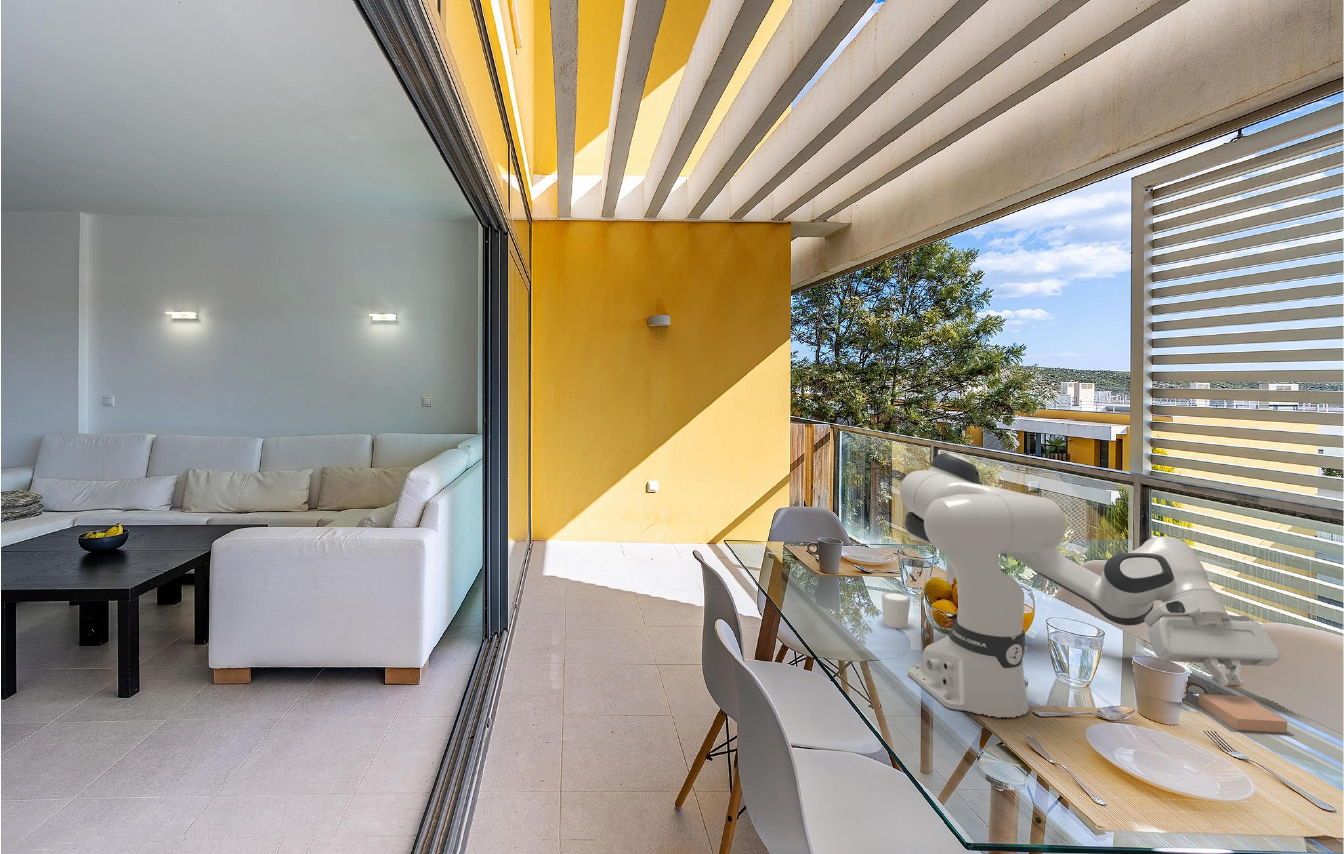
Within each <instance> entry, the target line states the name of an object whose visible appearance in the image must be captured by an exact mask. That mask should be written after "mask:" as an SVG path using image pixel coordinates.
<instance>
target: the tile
mask: <svg viewBox="0 0 1344 854" xmlns="http://www.w3.org/2000/svg"><path fill="white" fill-rule="evenodd" d="M1206 694H1207V693H1202V694H1199V701H1198V705H1200V706H1201V707H1202V708H1204V709H1205V710H1207V711H1208V712H1210V713H1211V714H1213V715H1214V716H1216V717H1217V718H1219V719H1220V720H1222V721H1223V722H1225V723H1226V724H1228V725H1229V726H1231V727H1232V728H1234V729H1235V730H1242V731H1260V732H1277V733H1287V731H1288V730H1287V729H1288V721H1287V720H1285V719H1284V718H1282V717H1280V716H1279V715H1277V714H1275V713H1274V712H1272V711H1270V709H1268V708H1265V707H1264V706H1262V705H1261V704H1258V703H1257V702H1256V701H1253V699H1251V698H1249V697H1247V696H1241V695H1230V696H1226V695H1227V694H1222V695H1206Z"/></svg>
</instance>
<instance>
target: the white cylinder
mask: <svg viewBox="0 0 1344 854" xmlns="http://www.w3.org/2000/svg"><path fill="white" fill-rule="evenodd" d="M911 601H912V598H911V597H910V596H909V595H907V594H903V593H899V592H885V593H882V594H881V606H882V623H883V625H884V626H886V627H888V628H892V629H893V628H894V629H905V628H907V627H908V623H909V622H908V621H909V614H910V609H911V608H910V607H911Z"/></svg>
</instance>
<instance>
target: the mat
mask: <svg viewBox="0 0 1344 854" xmlns="http://www.w3.org/2000/svg"><path fill="white" fill-rule="evenodd" d="M1185 693H1186V696H1185V698H1184V699H1183V700H1184V701H1185V702H1186V703H1189V704H1190V705H1191V706H1193V707H1194V708H1195V709H1197V710H1199V711H1200V712H1201V713H1203V714H1205V715H1206V716H1207V717H1209V718H1210V719H1212V720H1213V721H1215V722H1216V723H1217V724H1219V725H1221V726H1222V727H1223V728H1225V729H1227V730H1228V731H1230V732H1231V733H1245V734H1246V733H1248V734H1262V735H1263V734H1264V735H1279V736H1280V735H1281V736H1294V734H1293V733H1292V732H1290V731H1288V730H1287V733H1277V732H1260V731H1242V730H1235V729H1234V728H1232V727H1231V726H1229V725H1228V724H1226V723H1225V722H1223V721H1222V720H1220V719H1219V718H1217V717H1216V716H1214V715H1213V714H1211V713H1210V712H1208V711H1207V710H1205V709H1204V708H1202V707H1201V706H1200V705H1198V701H1199V697H1198V696H1195V695H1193V694H1192V693H1193V692H1185ZM1205 694H1206V695H1223V694H1219V693H1205ZM1225 695H1226V696H1231V695H1230V694H1225Z"/></svg>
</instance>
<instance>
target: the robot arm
mask: <svg viewBox="0 0 1344 854" xmlns="http://www.w3.org/2000/svg"><path fill="white" fill-rule="evenodd" d="M929 465H930V466H929V468H928V469H922V470H921V469H919V470H914V471H911V472H909V473H908V474H907V475H906V476H905V477H904V478H903V479H902V481H901V483H900V485H899V496H900V498H901V501H902V502H903V504H904V505H905V506H906V507H907V508H908V509H909V510H908V512H907V513H906V514H905V519H904V520H905V521H904V527H905V530H906V531H907V532H908V533H909V534H910V536H912V538H914V539H915V540H917V541H919V542H920V543H923V544H926V545H932V546H933V547H934V548H936V550H938V551H939V552H940V553H941V554H943V556H944V557H945V558H946V560H947V559H948V561H949V562H950V564H951V566H952V568H953V570H954V573H955V576H956V581H957V594H958V611H957V614H956V618H955V619H949V620H945V622H946V623H947V624H945V627H950V626H951V628H950V630H949V633H948V635H946V636H944V637H942V638H940V639H938V640H936V641H934V642H932V643H930V644H928V645H926V647H925V648H923V652H922V655H921V661H920V663H918V664H915V665H912V666H911V667H909V668H908V670H907V675H908V676H909V677H910V678H912V679H913V680H914V682H916V683H917V684H919V686H921V687H922V689H924V690H926V691H927V692H928V693H929V694H930V695H931V696H932V697H933V698H935V699H936V700H937V701H938V702H939V703H941V704H942V705H943V706H944V707H945V708H947V709H951V710H956V711H966V712H969V713H974V714H977V715H981V714H984V715H983V716H985V715H987V716H986V717H991V716H993V717H992V718H1001V717H1003V718H1004V717H1007V719H1008V718H1009V717H1011V718H1017V717H1016V716H1018V717H1022V716H1024V715H1025V714H1027V713H1028V712H1029V710H1030V705H1029V700H1028V697H1027V688H1026V685H1025V684H1026V683H1025V674H1024V673H1025V672H1024V661H1023V658H1024V653H1025V648H1026V647H1025V646H1026V636H1025V635H1026V632H1025V630H1024V628H1023V627H1024V612H1025V593H1024V590H1023V588H1022V587H1021V585H1020V584H1019V582H1018V581H1017V580H1015V579H1014V578H1013V577H1012V576H1010V575H1009V574H1007V573H1005V572H1003V571H1002V570H1001V567H1000V566H1001V565H1000V560H999V558H1000V557H999V556H1000V555H1004V554H1005V555H1006V554H1007V555H1009V556H1010V557H1012V558H1014V559H1015V560H1017V561H1019V562H1020V563H1022V564H1023V565H1025V566H1026V567H1028V568H1029V569H1030V570H1032V571H1033V572H1035V573H1036V574H1039V575H1040V576H1041V577H1043V578H1045V579H1046V580H1048V581H1050V582H1052V583H1054V584H1056V585H1058V586H1060V587H1061V588H1063V589H1064V590H1066V591H1068V592H1070V593H1072V594H1073V595H1075V596H1077V597H1078V598H1081V599H1082V600H1084V601H1085V602H1087V603H1088V604H1090V605H1091V606H1093V608H1094V609H1095V610H1097V611H1098V613H1100V615H1102V616H1103V617H1104V618H1106V619H1107V620H1109V621H1111V622H1113V623H1114V624H1119V625H1121V626H1137V625H1141V624H1142V623H1145V624H1146V625H1147V627H1149V628H1148V630H1147V634H1148V638H1149V641H1150V644H1151V648H1152V650H1153V652H1154V654H1155V656H1156V657H1157V658H1158V659H1160V660H1161V659H1163V660H1165V661H1164V662H1173V663H1174V662H1176V663H1177V662H1178V663H1194V664H1196V663H1198V664H1203V666H1204V668H1205V670H1207V671H1208V672H1209V673H1210V674H1211V675H1213V676H1214V678H1216V680H1217V681H1218V684H1219V685H1220V687H1223V688H1241V687H1243V686H1244V682H1243V680H1242V677H1241V676H1240V675H1241V670H1242V666H1252V667H1253V666H1254V667H1255V666H1258V667H1271V666H1272V665H1274V664H1276V663H1277V662H1279V661H1280V659H1281V656H1282V655H1281V653H1280V650H1279V649H1278V647H1277V646H1276V644H1275V642H1274V641H1273V640H1272V638H1271V637H1270V636H1269V634H1268V633H1267V632H1266V631H1265V630H1264V628H1263V627H1262V624H1261V623H1260V622H1259V621H1257V620H1255V619H1252V618H1250V617H1249V616H1247V615H1234V614H1233V615H1232V614H1229V613H1228V612H1227V610H1226V608H1225V606H1224V605H1223V602H1222V600H1221V598H1220V595H1218V593H1217V591H1216V590H1215V589H1214V588H1213V587H1212V586H1211V584H1210V581H1209V578H1208V577H1209V576H1208V573H1207V571H1206V569H1205V567H1204V566H1203V564H1202V562H1201V561H1200V559H1199V557H1198V555H1197V554H1196V553H1195V551H1194V550H1193V549H1192V547H1191V546H1190V545H1189V544H1188V543H1187V542H1185V541H1184V540H1182V539H1180V538H1179V537H1178V538H1177V537H1174V536H1168V535H1166V536H1164V535H1162V536H1156V537H1155V536H1154V537H1151V538H1150V539H1147V540H1145V541H1144V542H1143V544H1142V545H1141V546H1139V547H1138V548H1136V549H1134V550H1131V551H1129V552H1126V553H1125V552H1124V553H1118V554H1115V555H1113V556H1111V557H1110V558H1108V559H1107V561H1106V562H1105V564H1104V566H1103V570H1102V574H1101V575H1099V574H1097V573H1095V572H1094V571H1092V570H1089V569H1088V568H1085V567H1084V566H1082V565H1081V564H1078V563H1076V562H1074V561H1072V560H1071V559H1069V558H1067V557H1065V556H1064V555H1063V554H1062V553H1061V552H1060V551H1059V550H1058V549H1057V546H1059V545H1060V544H1061V542H1062V541H1063V539H1064V536H1065V534H1066V529H1067V525H1066V524H1067V522H1066V517H1065V515H1064V513H1063V510H1062V509H1061V507H1060V506H1059V505H1058V504H1057V503H1056V502H1055V501H1054V500H1053V499H1051V498H1047V497H1043V496H1039V495H1033V494H1027V493H1023V492H1019V491H1014V490H1010V489H1004V488H1000V487H995V486H991V485H986V484H984V483H983V482H981V480H980V473H979V471H978V468H977V467H976V465H974V464H973V462H971V461H970V460H969V459H968V458H967V457H965V456H963V455H960V454H957V453H944V452H942V453H938V454H937V455H936V456H935V457H934V458H933V460H932V461H931V463H930V464H929ZM1155 601H1161V602H1162V603H1160V604H1158V605H1156V607H1154V602H1155ZM1219 665H1224V667H1225V669H1226V670H1229V673H1226V672H1225V671H1224V670H1223V669H1222V668H1220V666H1219ZM1023 714H1024V715H1023ZM1021 715H1022V716H1021ZM994 716H995V717H994Z"/></svg>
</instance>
